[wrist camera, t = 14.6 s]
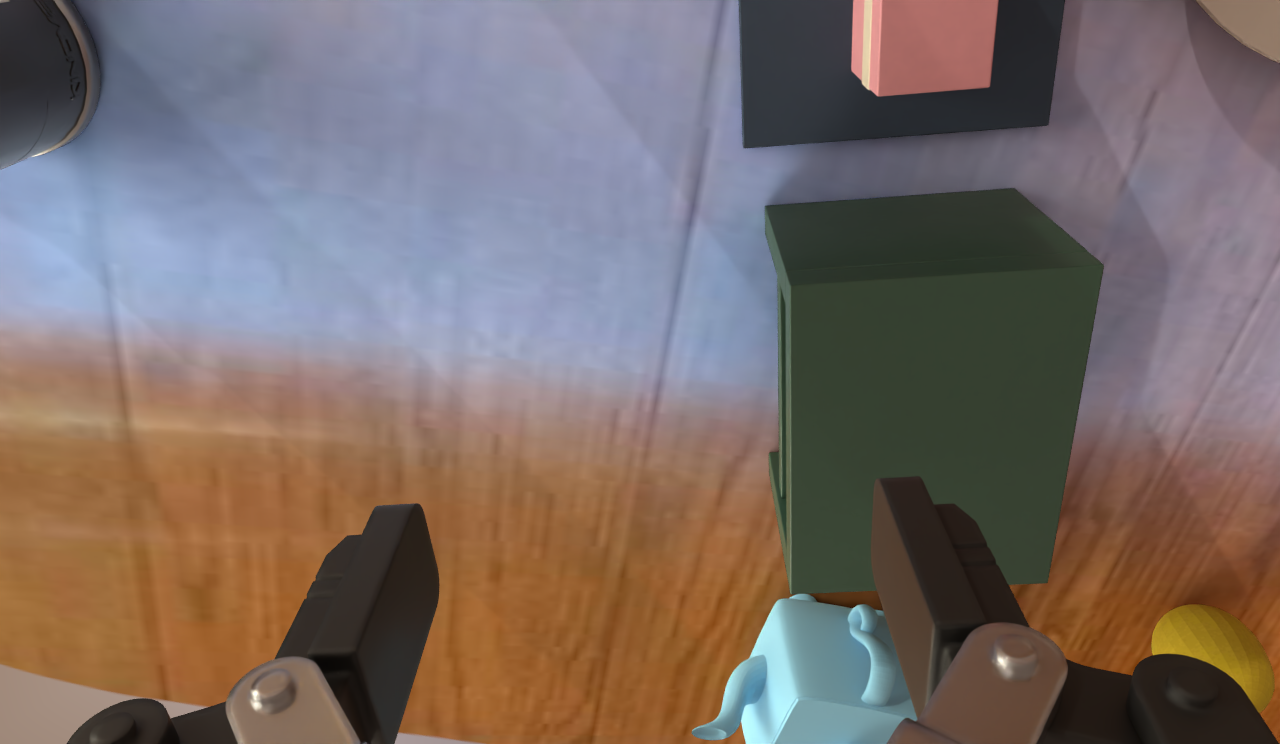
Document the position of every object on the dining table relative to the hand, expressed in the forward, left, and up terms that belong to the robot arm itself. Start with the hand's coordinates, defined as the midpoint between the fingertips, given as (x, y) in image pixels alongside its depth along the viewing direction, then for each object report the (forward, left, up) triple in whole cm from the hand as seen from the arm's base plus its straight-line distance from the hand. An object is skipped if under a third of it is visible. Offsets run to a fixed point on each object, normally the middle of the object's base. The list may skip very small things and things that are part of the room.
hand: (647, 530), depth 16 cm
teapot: (+8, -34, -30) cm, 46 cm away
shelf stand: (+11, -12, -30) cm, 34 cm away
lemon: (+30, -32, -30) cm, 53 cm away
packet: (+11, +6, -29) cm, 32 cm away
